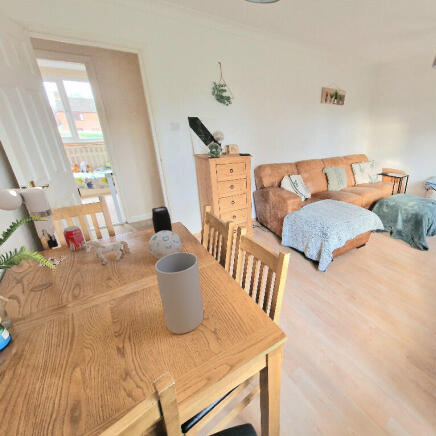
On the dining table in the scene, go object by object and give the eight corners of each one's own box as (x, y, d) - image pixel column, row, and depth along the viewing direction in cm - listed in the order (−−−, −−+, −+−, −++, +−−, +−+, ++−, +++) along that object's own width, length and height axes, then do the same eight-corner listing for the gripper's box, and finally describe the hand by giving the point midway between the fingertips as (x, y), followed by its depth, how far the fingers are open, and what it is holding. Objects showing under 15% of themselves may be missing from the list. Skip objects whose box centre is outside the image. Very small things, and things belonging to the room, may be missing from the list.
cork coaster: (28, 288, 98) (28, 287, 98) (47, 280, 103) (47, 279, 103) (35, 292, 96) (34, 292, 95) (54, 284, 101) (53, 284, 100)
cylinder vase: (177, 307, 93) (168, 251, 83) (209, 309, 92) (203, 253, 83) (159, 333, 81) (146, 271, 72) (195, 336, 81) (186, 275, 71)
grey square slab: (36, 266, 111) (35, 263, 111) (47, 257, 118) (46, 254, 118) (57, 264, 114) (56, 261, 113) (67, 256, 121) (66, 253, 120)
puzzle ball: (189, 256, 126) (185, 231, 121) (161, 269, 114) (156, 241, 109) (172, 247, 134) (168, 223, 128) (144, 258, 122) (139, 232, 116)
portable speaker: (172, 241, 140) (167, 210, 133) (154, 243, 137) (148, 211, 130) (174, 235, 148) (169, 205, 140) (157, 236, 145) (151, 206, 137)
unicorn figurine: (81, 267, 112) (72, 242, 107) (127, 252, 127) (122, 229, 122) (86, 273, 109) (77, 248, 103) (133, 257, 123) (127, 233, 118)
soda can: (69, 247, 128) (62, 227, 124) (86, 244, 132) (80, 224, 128) (68, 253, 123) (61, 232, 119) (86, 249, 127) (79, 229, 123)
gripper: (33, 209, 118) (46, 242, 125) (25, 220, 107) (40, 255, 114) (54, 207, 122) (65, 239, 129) (48, 217, 111) (61, 251, 118)
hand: (53, 246), depth 121 cm, fingers closed
